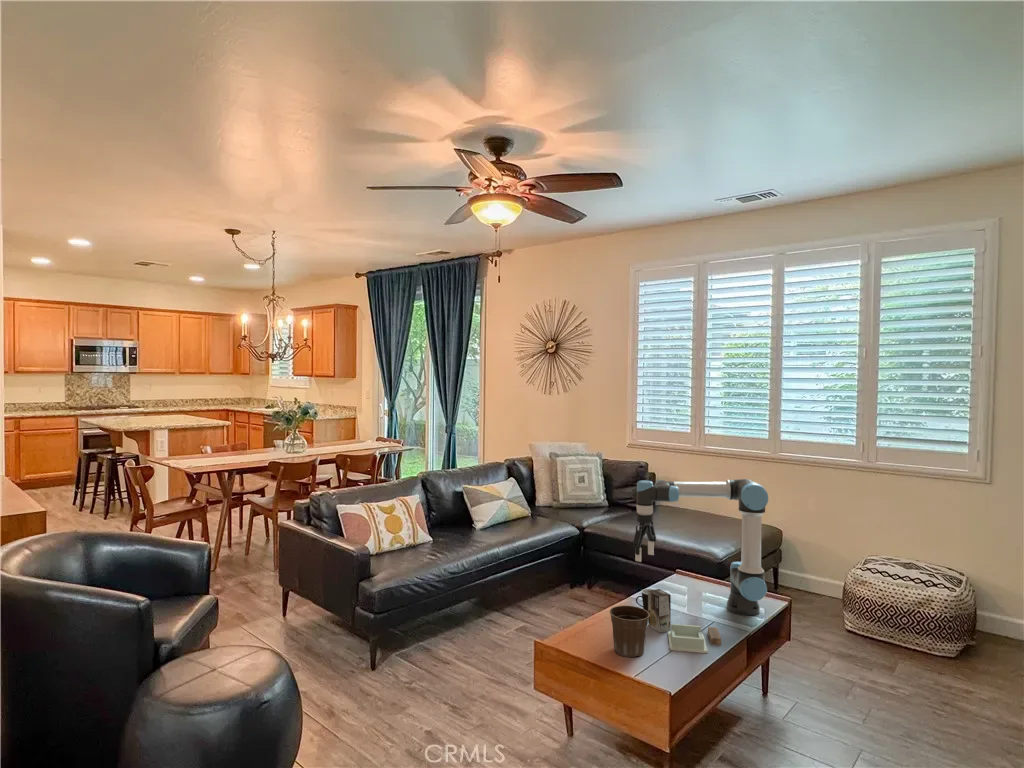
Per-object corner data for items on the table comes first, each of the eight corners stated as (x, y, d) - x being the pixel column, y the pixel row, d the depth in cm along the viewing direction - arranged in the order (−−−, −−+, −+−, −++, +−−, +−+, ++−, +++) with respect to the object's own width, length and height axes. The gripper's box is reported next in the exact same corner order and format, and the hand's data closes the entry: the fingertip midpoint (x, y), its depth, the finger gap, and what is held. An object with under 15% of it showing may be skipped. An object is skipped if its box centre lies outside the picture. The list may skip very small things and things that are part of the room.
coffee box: (671, 630, 271) (671, 594, 271) (659, 632, 269) (659, 596, 269) (659, 623, 280) (659, 588, 280) (647, 625, 278) (647, 590, 278)
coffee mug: (658, 609, 297) (658, 589, 297) (660, 616, 288) (660, 595, 288) (634, 608, 298) (634, 588, 298) (636, 615, 289) (636, 594, 289)
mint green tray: (703, 636, 265) (703, 624, 265) (707, 653, 249) (707, 641, 249) (667, 633, 268) (667, 622, 268) (670, 650, 252) (670, 638, 252)
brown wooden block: (717, 634, 269) (717, 627, 269) (721, 645, 257) (721, 638, 257) (707, 633, 269) (708, 626, 269) (711, 644, 258) (711, 637, 258)
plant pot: (649, 645, 257) (649, 606, 257) (649, 662, 241) (649, 621, 241) (610, 641, 260) (610, 603, 260) (608, 657, 245) (608, 617, 245)
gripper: (648, 508, 301) (648, 550, 301) (625, 516, 281) (625, 562, 282) (663, 510, 297) (663, 553, 297) (640, 519, 277) (640, 565, 277)
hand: (644, 558), depth 289 cm, fingers open, 13 cm apart
